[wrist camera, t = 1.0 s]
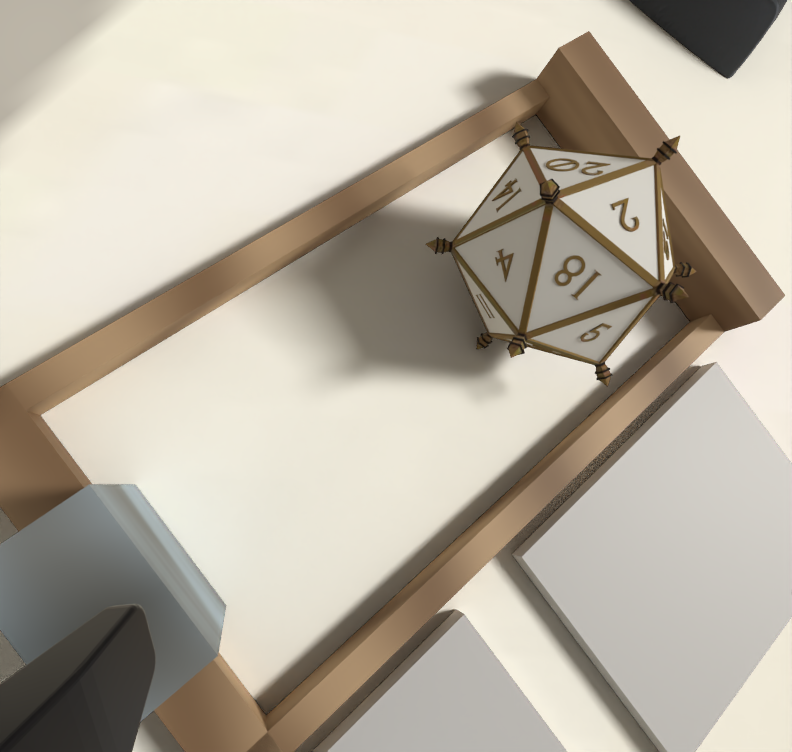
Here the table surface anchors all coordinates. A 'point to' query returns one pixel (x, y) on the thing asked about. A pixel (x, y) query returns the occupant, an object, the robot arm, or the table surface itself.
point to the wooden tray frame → (199, 295)
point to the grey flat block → (625, 591)
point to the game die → (569, 251)
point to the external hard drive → (715, 27)
